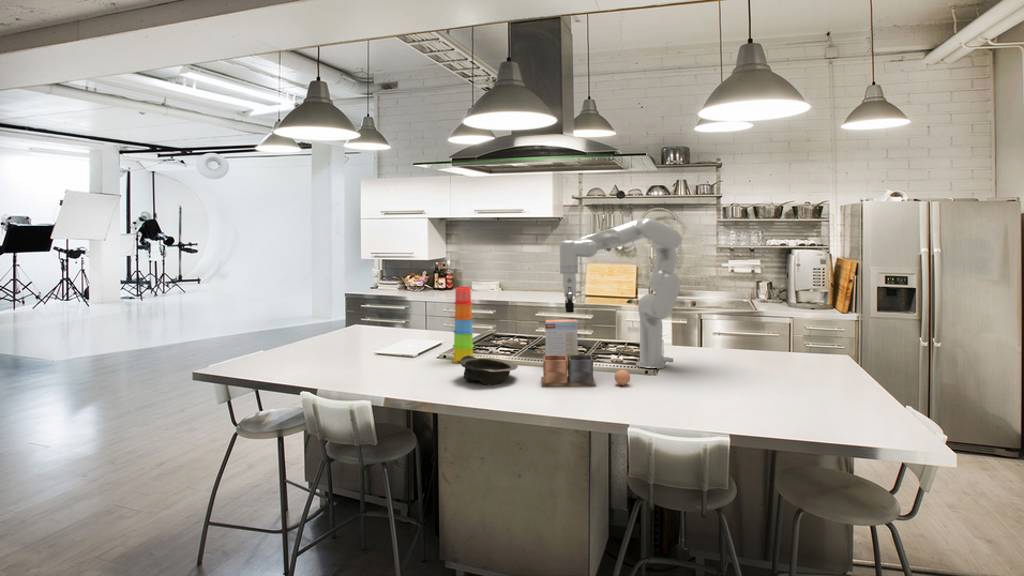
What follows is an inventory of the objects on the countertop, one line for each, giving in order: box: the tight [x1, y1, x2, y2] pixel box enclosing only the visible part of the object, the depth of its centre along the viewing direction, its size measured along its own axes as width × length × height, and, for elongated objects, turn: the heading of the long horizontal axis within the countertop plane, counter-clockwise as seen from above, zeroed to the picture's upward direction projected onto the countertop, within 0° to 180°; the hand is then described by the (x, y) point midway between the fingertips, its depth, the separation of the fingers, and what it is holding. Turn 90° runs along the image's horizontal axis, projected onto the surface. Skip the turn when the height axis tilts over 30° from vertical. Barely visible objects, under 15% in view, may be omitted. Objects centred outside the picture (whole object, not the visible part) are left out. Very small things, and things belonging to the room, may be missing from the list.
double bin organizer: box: [540, 354, 597, 388], centre depth 242 cm, size 21×11×10 cm, turn 88°
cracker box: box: [544, 319, 579, 369], centre depth 267 cm, size 14×6×21 cm, turn 84°
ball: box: [614, 369, 631, 386], centre depth 238 cm, size 6×6×6 cm
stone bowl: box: [456, 355, 519, 386], centre depth 249 cm, size 25×25×9 cm
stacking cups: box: [452, 286, 475, 364], centre depth 281 cm, size 10×10×35 cm
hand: (569, 310), depth 256 cm, fingers open, 9 cm apart
